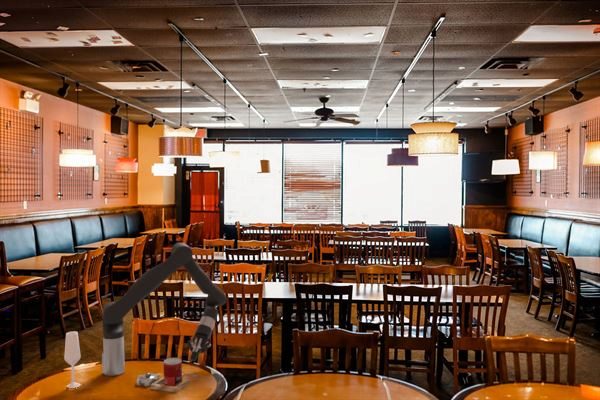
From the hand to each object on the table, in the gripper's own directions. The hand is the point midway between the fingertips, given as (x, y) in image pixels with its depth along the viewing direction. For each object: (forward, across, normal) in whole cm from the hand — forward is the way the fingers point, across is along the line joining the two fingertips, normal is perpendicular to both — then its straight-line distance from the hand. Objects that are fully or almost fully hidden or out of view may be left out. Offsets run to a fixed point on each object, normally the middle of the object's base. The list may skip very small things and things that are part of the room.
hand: (192, 360), depth 255 cm
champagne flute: (+27, -41, -19) cm, 53 cm away
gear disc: (+17, -12, -9) cm, 23 cm away
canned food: (+16, 0, -8) cm, 18 cm away
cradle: (+17, 0, -9) cm, 20 cm away
